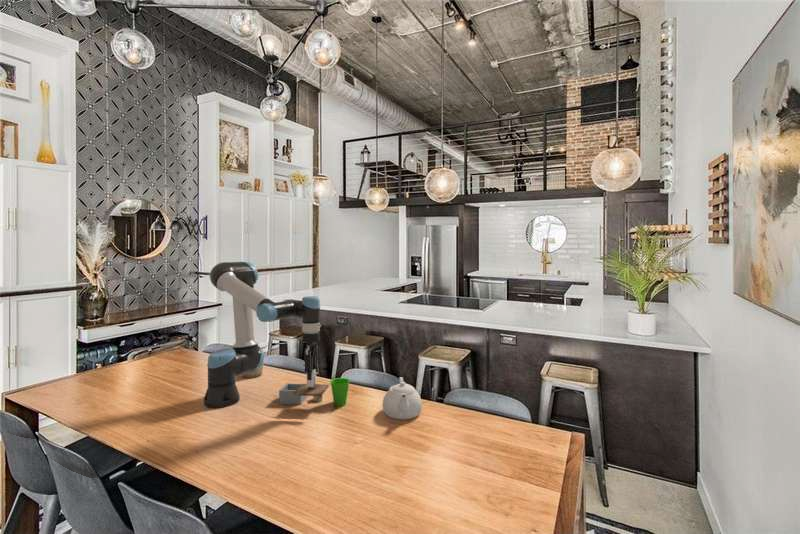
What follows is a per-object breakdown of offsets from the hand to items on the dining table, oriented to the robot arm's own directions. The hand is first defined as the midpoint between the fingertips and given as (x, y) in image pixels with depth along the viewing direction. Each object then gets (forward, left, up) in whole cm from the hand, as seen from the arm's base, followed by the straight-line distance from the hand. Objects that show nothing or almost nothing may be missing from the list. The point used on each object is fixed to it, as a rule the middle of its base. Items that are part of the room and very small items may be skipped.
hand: (311, 385), depth 174 cm
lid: (0, 0, -3) cm, 3 cm away
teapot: (+40, +2, -12) cm, 42 cm away
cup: (+11, +8, -12) cm, 18 cm away
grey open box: (-11, +9, -11) cm, 18 cm away
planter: (-48, +46, -12) cm, 68 cm away
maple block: (0, +10, -11) cm, 15 cm away
